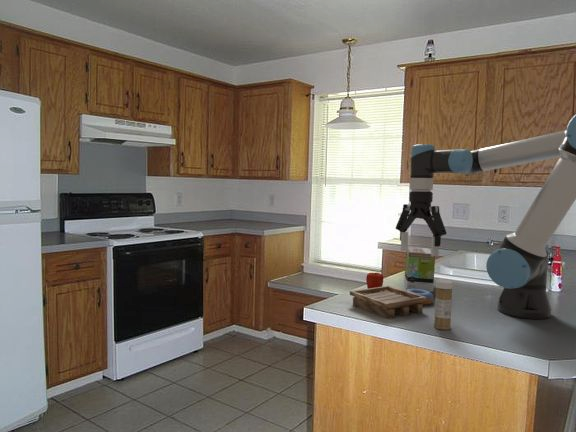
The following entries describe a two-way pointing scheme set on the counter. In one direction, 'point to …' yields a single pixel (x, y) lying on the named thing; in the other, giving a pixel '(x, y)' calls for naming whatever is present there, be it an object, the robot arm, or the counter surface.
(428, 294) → the doughnut
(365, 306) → the wooden pallet tray
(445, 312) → the sprinkles bottle
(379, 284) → the red bell pepper
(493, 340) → the counter surface
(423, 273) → the tea box
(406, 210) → the robot arm
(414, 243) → the counter surface
